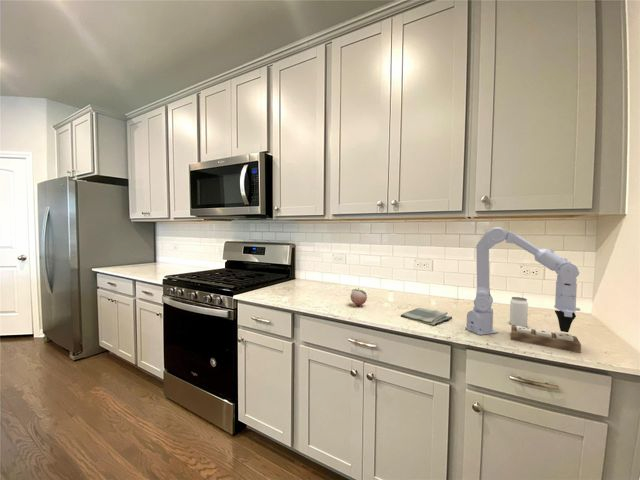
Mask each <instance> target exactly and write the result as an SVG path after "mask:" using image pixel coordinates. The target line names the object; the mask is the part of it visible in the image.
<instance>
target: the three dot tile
mask: <svg viewBox="0 0 640 480" xmlns="http://www.w3.org/2000/svg"><path fill="white" fill-rule="evenodd" d="M531 329H532V328H531V327H528V326H526V327H523V326H517V328H516V332H522V333H528V334H531Z"/></svg>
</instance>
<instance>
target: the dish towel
mask: <svg viewBox="0 0 640 480" xmlns="http://www.w3.org/2000/svg"><path fill="white" fill-rule="evenodd" d="M400 318H403V319H408V320H409V321H414V322H417V323H420V324H424V325H428V326H432V327H435V326H438V325H441V324H443V323H446V322H449V321H451V320H453V316H452V315H451V316H450V315H448V311H442V310H441V311H440V310H435V309H431V308H424V307H417V308H414V309H411V310H408V311H406V312H404V313H402V314H400Z"/></svg>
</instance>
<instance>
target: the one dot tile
mask: <svg viewBox="0 0 640 480" xmlns="http://www.w3.org/2000/svg"><path fill="white" fill-rule="evenodd" d="M551 332H552V331H550V330H546V329H539V328H535V335H539V336H545V337H551V338H552V334H551Z"/></svg>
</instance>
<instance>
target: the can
mask: <svg viewBox="0 0 640 480" xmlns="http://www.w3.org/2000/svg"><path fill="white" fill-rule="evenodd" d="M509 303H510V304H509V323H510V325H511V326H523V327H528V315H529V314H528V313H529V302H528V299H527V298H525V297H518V296H512V297H511V299H510V302H509Z"/></svg>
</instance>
